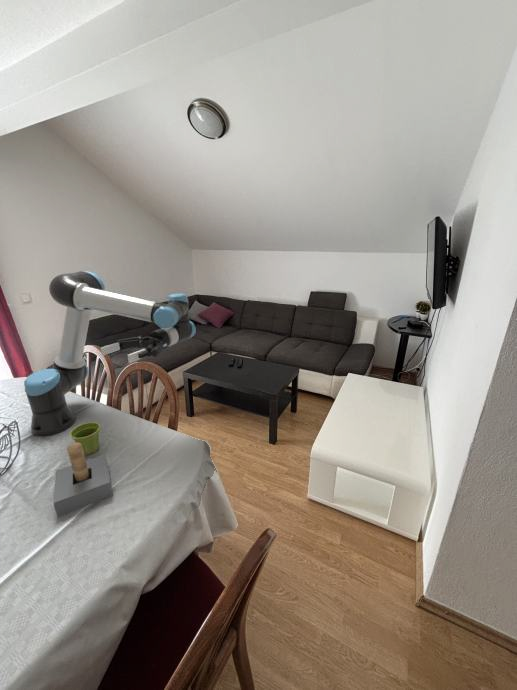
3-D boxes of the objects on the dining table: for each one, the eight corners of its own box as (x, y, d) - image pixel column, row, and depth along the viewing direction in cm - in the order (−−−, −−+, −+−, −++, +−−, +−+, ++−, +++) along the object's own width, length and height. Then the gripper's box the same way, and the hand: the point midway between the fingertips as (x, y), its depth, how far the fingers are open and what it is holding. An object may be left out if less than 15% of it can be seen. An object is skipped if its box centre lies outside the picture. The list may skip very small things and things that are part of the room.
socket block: (59, 482, 90) (55, 470, 89) (108, 466, 97) (105, 454, 96) (57, 516, 79) (53, 502, 77) (112, 494, 86) (110, 482, 84)
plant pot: (91, 460, 100) (86, 439, 97) (68, 456, 102) (63, 436, 99) (109, 443, 109) (105, 423, 106) (88, 439, 110) (84, 420, 108)
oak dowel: (78, 484, 88) (67, 445, 83) (91, 479, 90) (81, 441, 85) (78, 492, 85) (67, 452, 80) (91, 487, 87) (81, 448, 82)
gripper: (189, 352, 106) (142, 373, 88) (142, 342, 117) (93, 358, 99) (187, 333, 103) (139, 351, 85) (140, 324, 114) (89, 338, 97)
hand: (114, 355), depth 92 cm, fingers open, 13 cm apart
